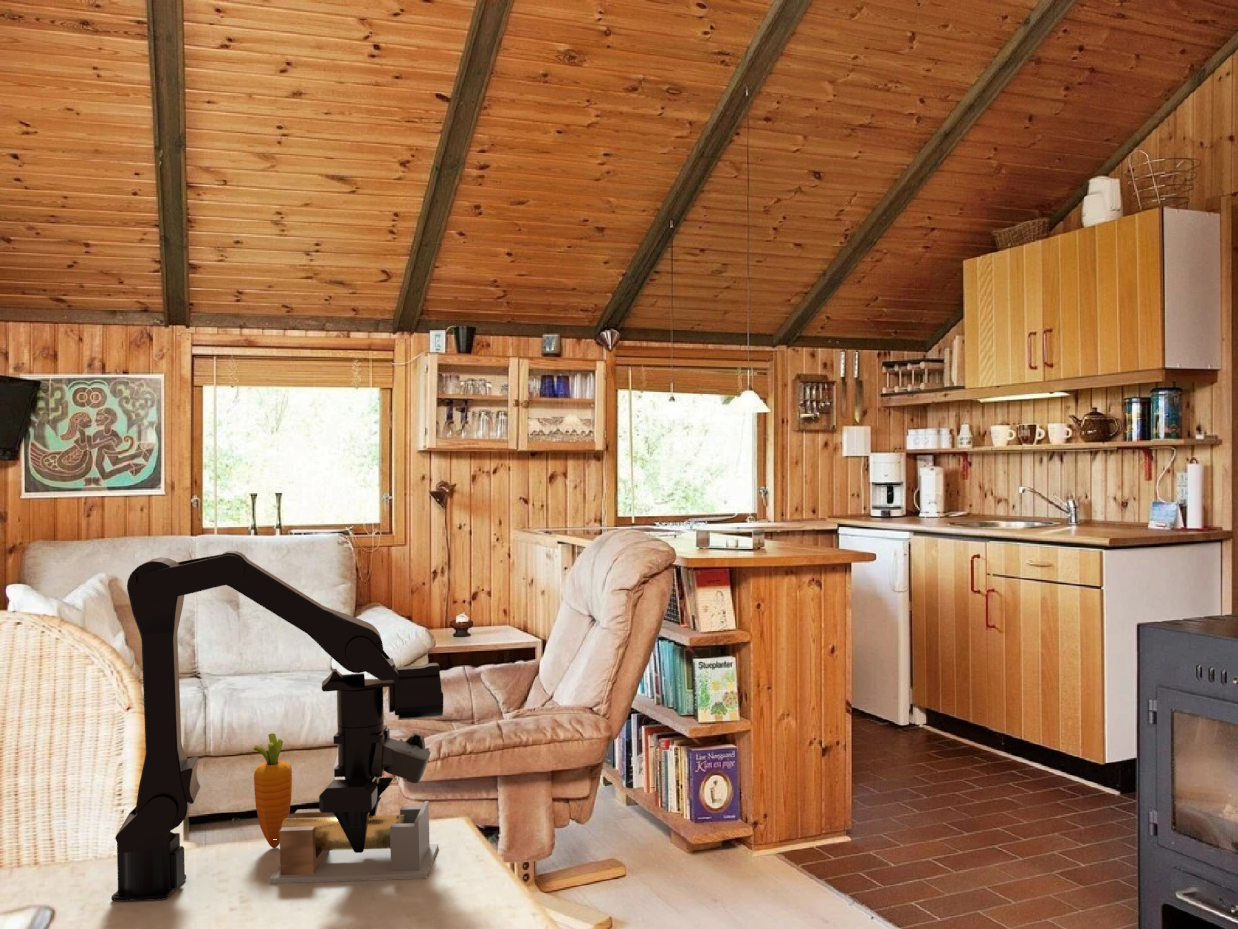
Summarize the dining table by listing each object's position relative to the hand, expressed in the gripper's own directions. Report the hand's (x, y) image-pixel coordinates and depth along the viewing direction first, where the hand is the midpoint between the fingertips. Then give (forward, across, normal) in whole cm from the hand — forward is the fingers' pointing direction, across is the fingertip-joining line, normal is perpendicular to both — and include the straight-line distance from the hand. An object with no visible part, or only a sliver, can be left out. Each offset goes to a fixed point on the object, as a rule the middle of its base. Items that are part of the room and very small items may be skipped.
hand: (362, 846), depth 132 cm
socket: (+2, 0, -6) cm, 6 cm away
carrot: (+3, +7, +13) cm, 15 cm away
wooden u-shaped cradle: (+2, 0, +7) cm, 8 cm away
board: (+2, 0, +1) cm, 3 cm away
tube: (0, 0, +2) cm, 2 cm away
